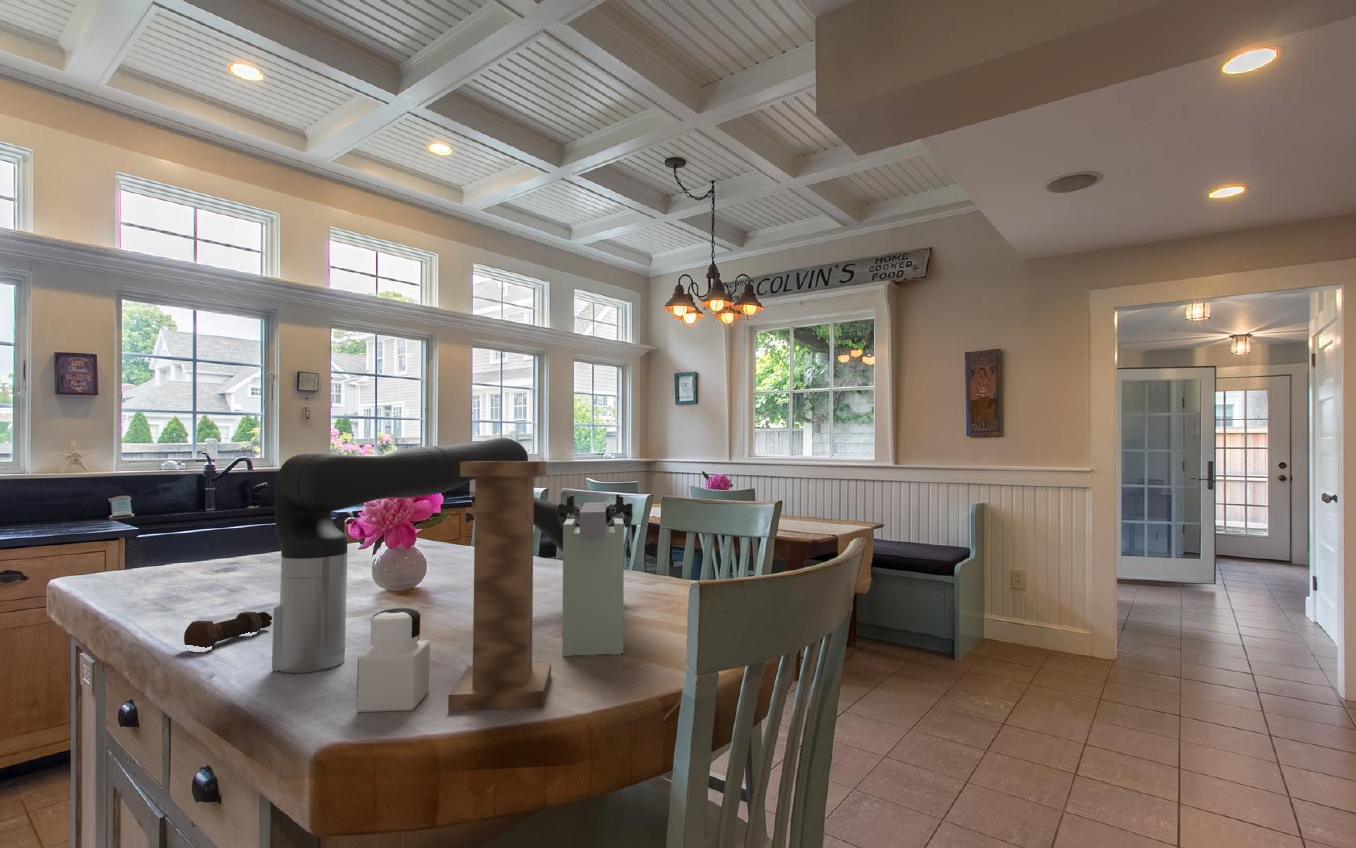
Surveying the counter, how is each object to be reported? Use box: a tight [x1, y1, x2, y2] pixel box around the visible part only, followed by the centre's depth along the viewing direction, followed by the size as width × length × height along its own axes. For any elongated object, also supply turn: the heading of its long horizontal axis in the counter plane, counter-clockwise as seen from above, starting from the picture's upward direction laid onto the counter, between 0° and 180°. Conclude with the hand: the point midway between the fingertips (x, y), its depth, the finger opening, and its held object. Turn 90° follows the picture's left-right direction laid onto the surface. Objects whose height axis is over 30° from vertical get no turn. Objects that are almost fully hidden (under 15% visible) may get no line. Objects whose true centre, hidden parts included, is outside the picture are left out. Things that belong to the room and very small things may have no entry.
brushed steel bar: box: [579, 501, 607, 538], centre depth 114 cm, size 4×24×4 cm, turn 6°
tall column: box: [447, 460, 552, 712], centre depth 91 cm, size 12×12×32 cm
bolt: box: [183, 611, 273, 648], centre depth 117 cm, size 6×5×15 cm
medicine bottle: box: [356, 607, 431, 713], centre depth 87 cm, size 7×7×12 cm
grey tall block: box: [561, 518, 625, 657], centre depth 113 cm, size 10×10×22 cm
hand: (595, 498), depth 121 cm, fingers open, 8 cm apart
